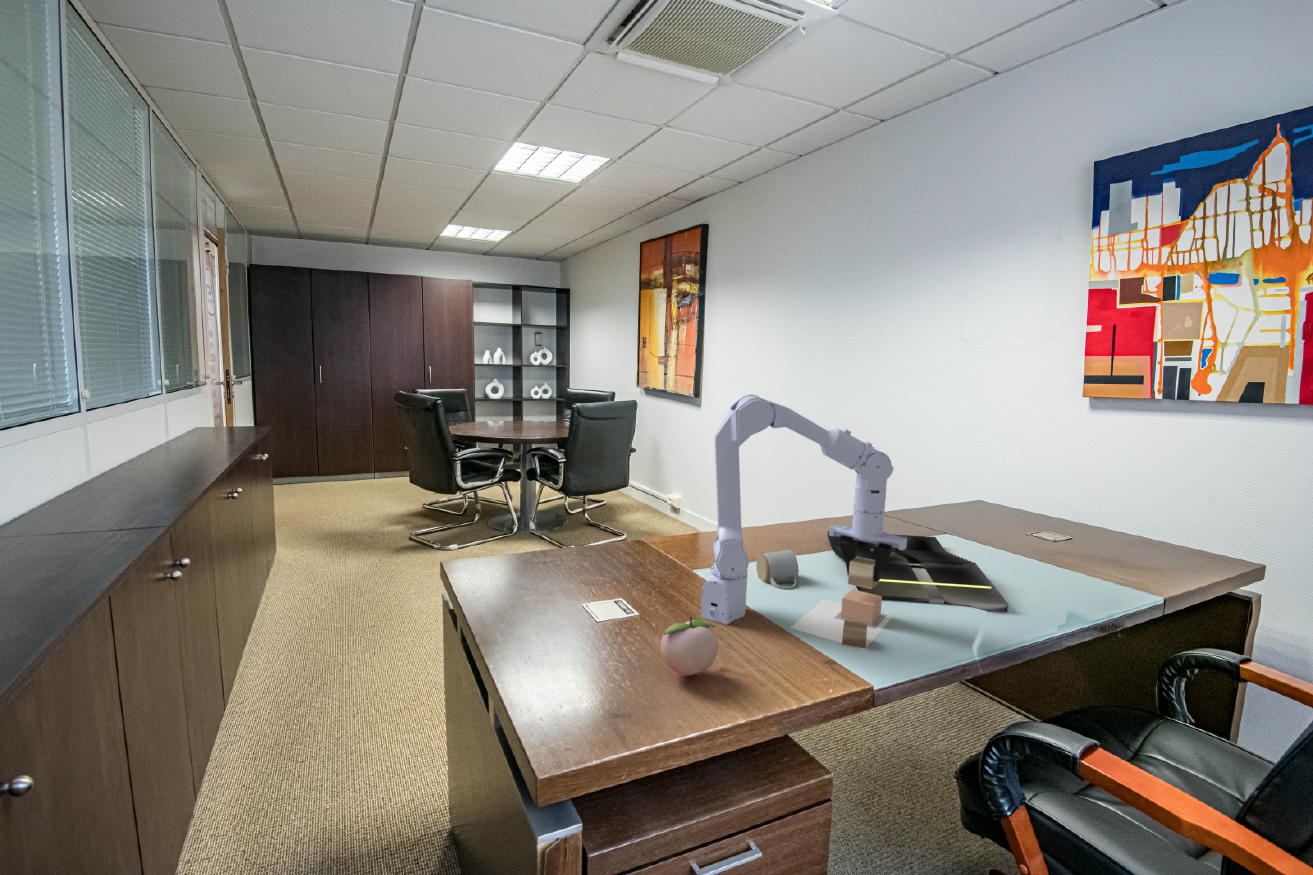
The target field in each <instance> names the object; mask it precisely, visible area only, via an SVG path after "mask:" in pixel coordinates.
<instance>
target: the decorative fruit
mask: <svg viewBox="0 0 1313 875" xmlns="http://www.w3.org/2000/svg"><path fill="white" fill-rule="evenodd" d="M710 627H712V628H716V626H715V625H714V624H713V623H712V622H710V621H709V620H706V619H694V620H693V616H690V617H689V621H685V622H675V623H673V624H671V625H670V626H668V627H667V629H665V631H664V633H663V634H662V637H661V639H660V640H661V641H660V652H661V655H662V659H663V660H664V662H665V663H666V665H667V666H668V668H670V669H671V670H672V671H673V672H675V673H676V674H679V675H682V676H686V677H690V676H692V675H696V674H698V673H702V672H704V671H706V670H707V669H709V668H710V667H711V666H712V665H713V664H714V662H715V659H716V658H717V654H718V651H719V650H718V649H719V643H718V642H719V641H718V638H717V636H716V635H715V633H714V631H713V630H712V628H710Z"/></svg>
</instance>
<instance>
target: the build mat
mask: <svg viewBox="0 0 1313 875" xmlns="http://www.w3.org/2000/svg"><path fill="white" fill-rule="evenodd" d="M841 611H842V603H840V602H837V601H832V600H828V599H825V598H824V599H823V600H821V601H820V602H819V603H818V604H817V605H816V606H815V607H813V608H812V609H811V610H809V612H807V613H806V614H805V615H804V616H802V617H801V618H799V620H798V621H797V622H795V623H794V624H793V625H792V626H791V627H790V629H793V630H796V631H800V632H803V633H807V634H810V635H813V636H817V637H819V638H820V637H821V638H823V639H826V640H831V641H833V642H837V643H840V644H842V637H843V627H844V620H849V619H845V618H842V617H841ZM892 618H893V616H890V615H887V614H884V613H881V616H880V617H879V618H878V619H877V620H876V621H875V622H874V624H873V625H872V626H871V625H867V635H866V648H860V647H856V648H857V649H860V650H863V651H864V650H866V649H867V648H868V647H869V645H870V644H871V643H872V641H873V640H874V639H876V638H877V636H878V634H879V633H880V632H881V631H882V630H883V629H884V627H885V626H886V625H887V624H888V622H889V621H890V620H891V619H892ZM849 621H853V620H849ZM855 622H856V621H855ZM852 647H853V648H855V647H854V646H852Z"/></svg>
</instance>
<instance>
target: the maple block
mask: <svg viewBox="0 0 1313 875" xmlns="http://www.w3.org/2000/svg"><path fill="white" fill-rule="evenodd" d="M874 570H875V560H873V559H868V558H863V557H858V556H857V557H855V558H854V559H853V560H851V561H850V565H849V576H848V579H847V584H848V585H852V586H855V587H856V586H859V587H863V588H867V589H872V588H873V587H874V586H875V585H876V584H877V583H878V582H874Z"/></svg>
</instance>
